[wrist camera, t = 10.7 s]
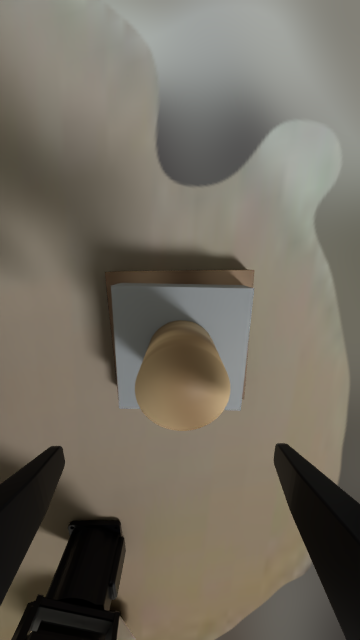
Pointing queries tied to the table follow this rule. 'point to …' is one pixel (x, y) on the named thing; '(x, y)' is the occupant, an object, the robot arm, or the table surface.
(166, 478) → the table surface
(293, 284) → the table surface
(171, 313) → the tower top block
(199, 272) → the tower base block
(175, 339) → the tan rounded piece
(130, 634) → the geodesic sphere
